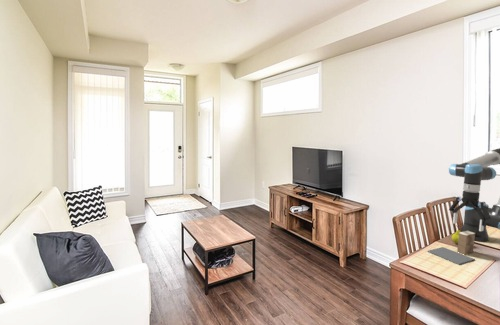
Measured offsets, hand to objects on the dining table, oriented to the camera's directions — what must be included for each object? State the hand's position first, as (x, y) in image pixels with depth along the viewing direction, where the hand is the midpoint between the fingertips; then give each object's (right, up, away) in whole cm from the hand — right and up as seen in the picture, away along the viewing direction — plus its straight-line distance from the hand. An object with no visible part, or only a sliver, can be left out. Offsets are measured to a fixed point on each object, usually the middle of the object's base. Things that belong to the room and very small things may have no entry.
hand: (467, 226), depth 158 cm
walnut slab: (0, -16, +2) cm, 16 cm away
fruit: (+5, -14, +14) cm, 20 cm away
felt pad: (-12, -16, -3) cm, 20 cm away
